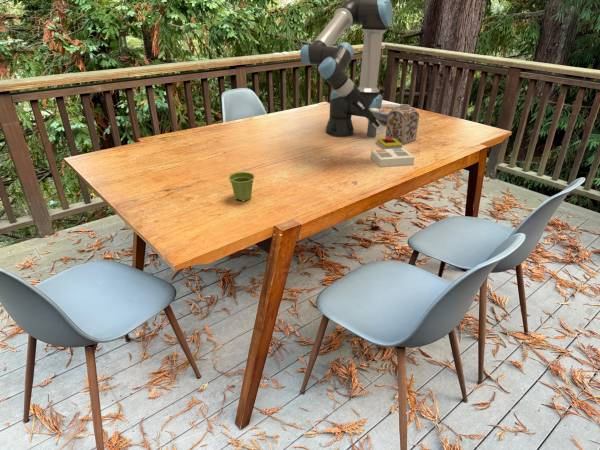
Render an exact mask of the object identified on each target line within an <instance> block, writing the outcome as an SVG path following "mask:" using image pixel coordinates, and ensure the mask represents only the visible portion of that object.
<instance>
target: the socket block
mask: <svg viewBox="0 0 600 450" xmlns="http://www.w3.org/2000/svg"><path fill="white" fill-rule="evenodd" d="M370 158H371V159H372V160H373V162H374V163H375V164H376V165H377V166H378V167H380V168H382V167H384V168H385V167H397V166H398V167H399V166H412V165H413V164H415V159H416V158H415V156H414V155H412V154H411V152H409V151H408V150H406V149H405V148H404V147H402V148H394V149H382V148H381V149H380V148H379V149H371V151H370Z"/></svg>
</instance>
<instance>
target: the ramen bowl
mask: <svg viewBox="0 0 600 450" xmlns="http://www.w3.org/2000/svg"><path fill="white" fill-rule="evenodd" d="M401 104H402V103H399V104H397V103H396V104H393V103H382V105H381V108H380V111H379V115H378V120H380V121H382V122H384V123H386V124H387V119H388V113H389V112H390V111H391V110H392V109H393V108H395V107H400V105H401Z"/></svg>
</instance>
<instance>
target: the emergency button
mask: <svg viewBox="0 0 600 450" xmlns="http://www.w3.org/2000/svg"><path fill="white" fill-rule="evenodd" d="M376 140H377V141H376V142H375V144H376V145H377V146H378V147H380V148H381V149H394V148H403V145H402V144H401V143H400V142H399V141H397V140H396V139H395V138H393V137H391V138H385V137H379V138H377V139H376Z"/></svg>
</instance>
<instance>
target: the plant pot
mask: <svg viewBox="0 0 600 450" xmlns="http://www.w3.org/2000/svg"><path fill="white" fill-rule="evenodd" d="M255 177H256V176H255V175H254V174H253V173H252V172H247V171H239V172H234V173H232V174H231V173H230V175H229V176H228V180H229V181H230V184H231V187H232V190H233V194H234V195H233V196H234V199H235V198H236V199H235V200H237V199H239V200H247V199H248V200H251V199H252V195H253V194H252V190H253V183H254V180H255ZM250 198H251V199H250ZM248 200H247V201H248Z"/></svg>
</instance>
